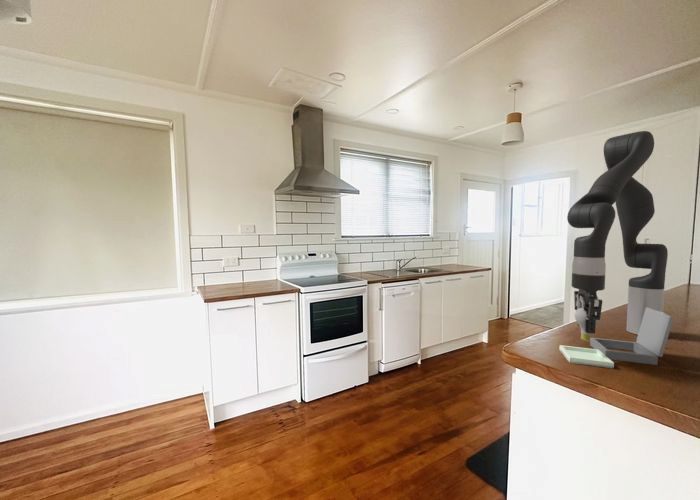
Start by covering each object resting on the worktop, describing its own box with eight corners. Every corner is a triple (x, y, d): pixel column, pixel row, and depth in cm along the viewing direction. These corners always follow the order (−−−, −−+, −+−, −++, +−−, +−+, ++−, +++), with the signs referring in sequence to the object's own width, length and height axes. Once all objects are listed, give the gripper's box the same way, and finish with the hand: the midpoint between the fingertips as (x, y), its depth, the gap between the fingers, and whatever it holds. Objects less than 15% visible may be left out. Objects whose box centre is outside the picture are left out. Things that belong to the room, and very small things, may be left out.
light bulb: (602, 345, 82) (603, 310, 82) (580, 343, 83) (581, 309, 83) (590, 338, 88) (591, 305, 87) (569, 337, 89) (571, 304, 88)
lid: (646, 306, 91) (651, 308, 90) (635, 341, 92) (641, 343, 91) (670, 316, 80) (676, 318, 79) (658, 356, 81) (664, 357, 81)
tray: (559, 349, 92) (559, 345, 92) (598, 354, 89) (598, 349, 88) (569, 362, 83) (569, 357, 83) (613, 368, 79) (614, 363, 79)
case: (590, 344, 96) (590, 337, 96) (635, 349, 92) (635, 342, 92) (605, 358, 86) (605, 350, 86) (657, 365, 81) (657, 356, 81)
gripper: (616, 276, 76) (613, 339, 77) (594, 270, 90) (591, 324, 91) (581, 275, 79) (579, 335, 80) (564, 269, 92) (563, 321, 93)
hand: (585, 329), depth 85 cm, fingers closed on light bulb, 5 cm apart
